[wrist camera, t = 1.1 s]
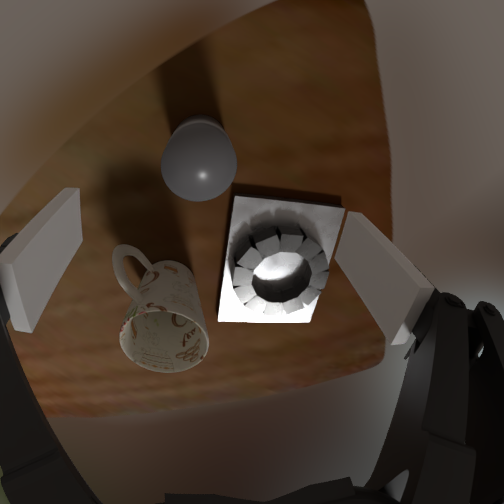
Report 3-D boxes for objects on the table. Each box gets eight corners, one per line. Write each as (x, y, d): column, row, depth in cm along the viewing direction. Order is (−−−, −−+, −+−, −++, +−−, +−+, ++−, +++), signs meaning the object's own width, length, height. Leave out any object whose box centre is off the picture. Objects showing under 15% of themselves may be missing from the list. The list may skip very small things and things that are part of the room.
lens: (170, 163, 30) (157, 199, 21) (175, 111, 27) (163, 124, 19) (222, 167, 31) (231, 204, 22) (230, 116, 28) (243, 132, 20)
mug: (164, 319, 39) (159, 382, 30) (95, 248, 33) (67, 304, 24) (219, 288, 38) (226, 351, 29) (151, 206, 31) (135, 256, 23)
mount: (217, 315, 40) (219, 332, 37) (233, 192, 32) (237, 203, 29) (307, 317, 42) (313, 332, 39) (341, 205, 34) (352, 216, 32)
